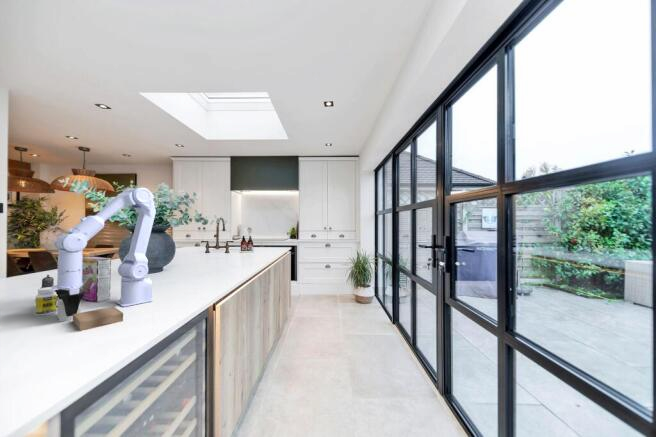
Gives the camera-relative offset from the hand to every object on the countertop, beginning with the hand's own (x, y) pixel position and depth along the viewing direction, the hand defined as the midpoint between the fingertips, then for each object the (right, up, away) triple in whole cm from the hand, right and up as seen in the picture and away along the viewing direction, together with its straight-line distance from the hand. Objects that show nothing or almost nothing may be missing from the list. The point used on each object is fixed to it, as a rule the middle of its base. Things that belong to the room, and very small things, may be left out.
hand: (69, 312), depth 85 cm
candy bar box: (-9, -2, +19) cm, 22 cm away
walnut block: (+12, -2, -3) cm, 12 cm away
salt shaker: (-16, -2, +9) cm, 18 cm away
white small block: (0, -2, 0) cm, 2 cm away
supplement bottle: (-11, -2, +4) cm, 12 cm away
